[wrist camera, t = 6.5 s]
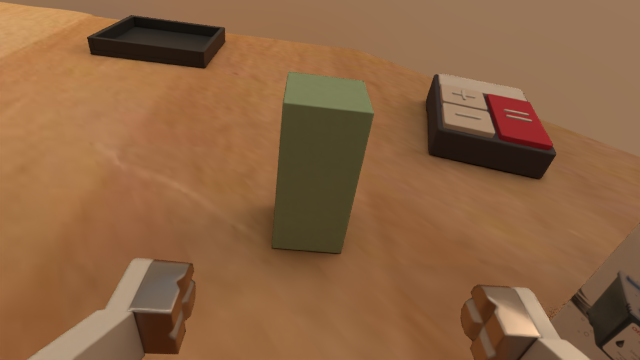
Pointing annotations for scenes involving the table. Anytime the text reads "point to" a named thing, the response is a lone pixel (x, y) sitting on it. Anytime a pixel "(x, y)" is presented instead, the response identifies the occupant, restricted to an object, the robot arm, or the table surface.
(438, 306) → the table surface
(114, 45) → the black tray
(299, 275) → the table surface
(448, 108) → the calculator
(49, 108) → the table surface
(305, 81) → the tall green rectangular block
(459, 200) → the table surface
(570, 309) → the ink box
